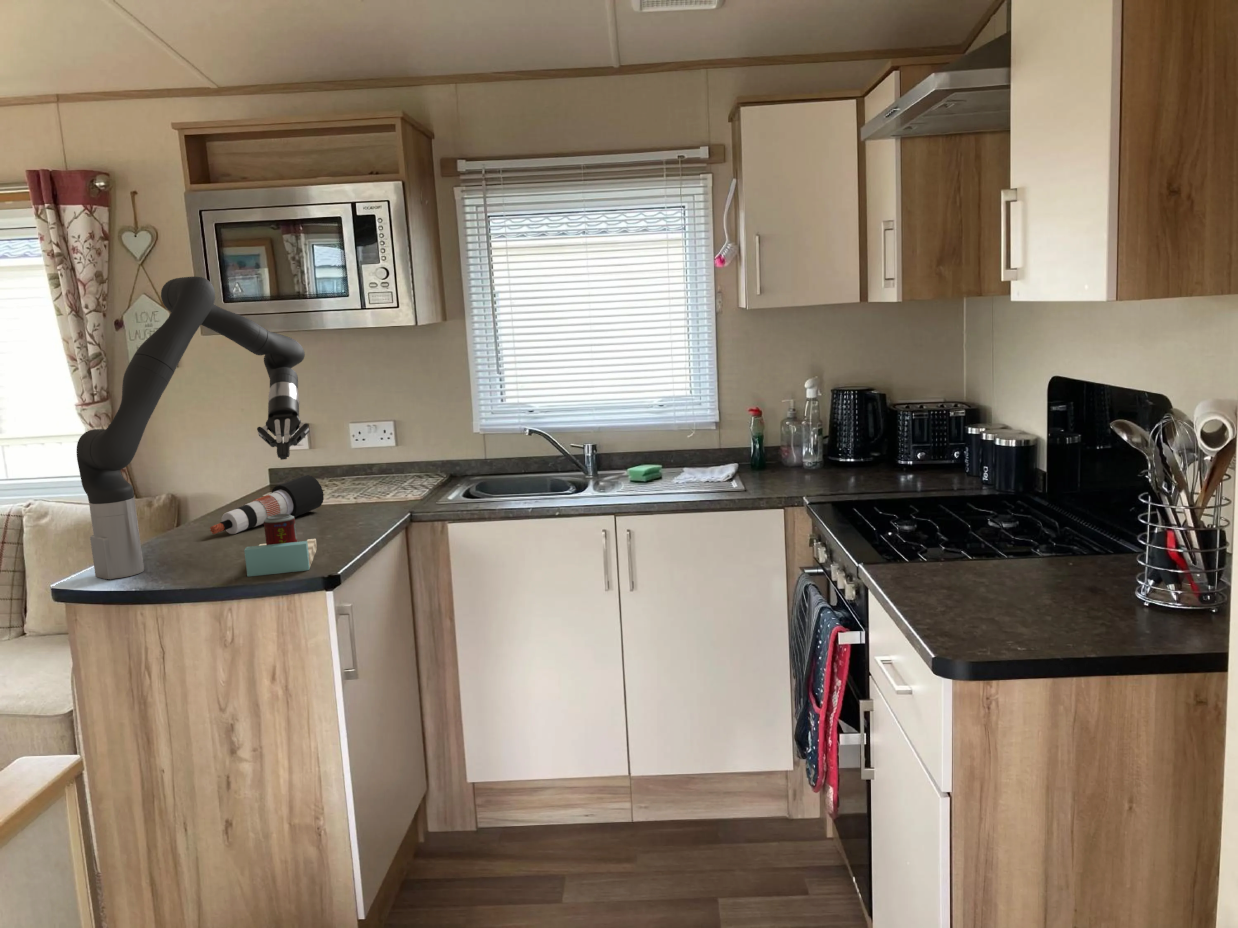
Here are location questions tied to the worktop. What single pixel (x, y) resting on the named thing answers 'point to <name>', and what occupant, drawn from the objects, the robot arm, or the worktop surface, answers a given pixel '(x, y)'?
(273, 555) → the block
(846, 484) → the worktop surface
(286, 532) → the soda can
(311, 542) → the guide rails
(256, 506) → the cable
